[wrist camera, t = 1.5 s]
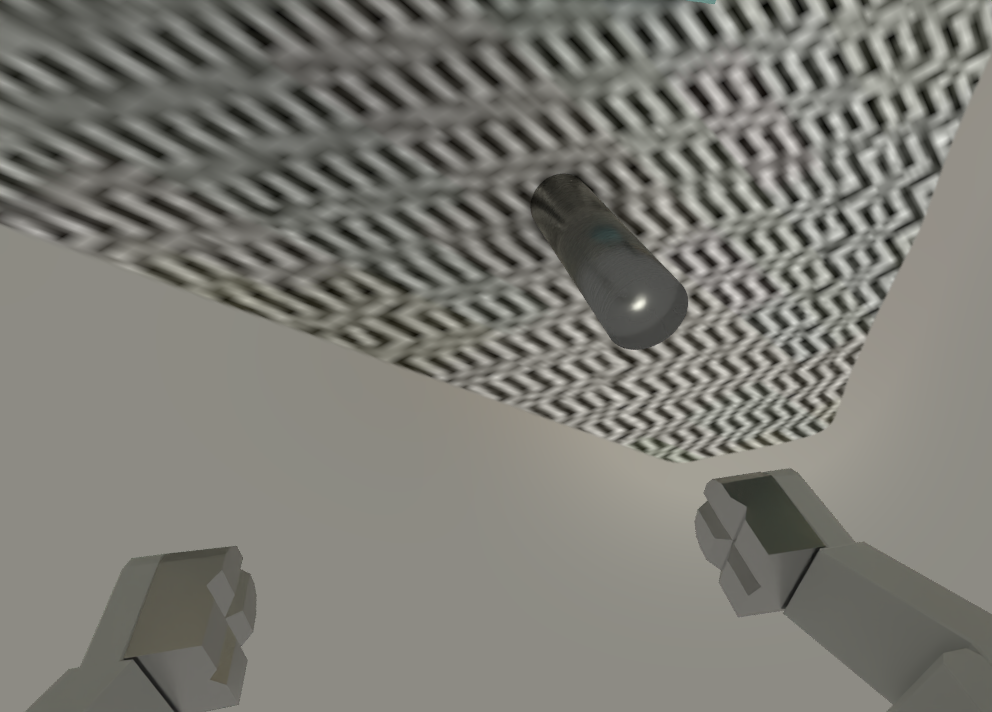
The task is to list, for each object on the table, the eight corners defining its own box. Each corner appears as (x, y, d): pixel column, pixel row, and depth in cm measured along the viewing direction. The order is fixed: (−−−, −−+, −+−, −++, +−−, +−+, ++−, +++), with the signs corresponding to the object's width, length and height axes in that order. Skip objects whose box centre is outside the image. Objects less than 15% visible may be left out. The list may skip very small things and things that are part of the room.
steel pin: (526, 231, 37) (597, 350, 26) (535, 172, 35) (617, 275, 24) (582, 232, 38) (673, 348, 27) (594, 175, 36) (699, 276, 25)
